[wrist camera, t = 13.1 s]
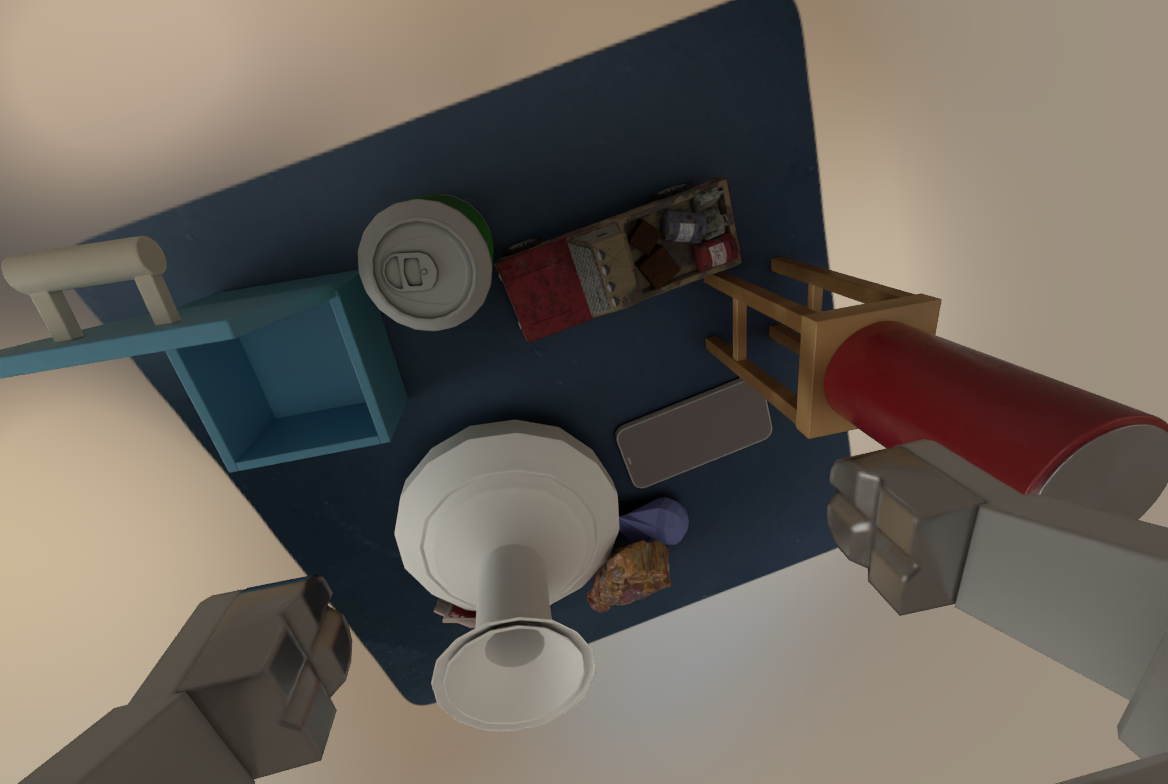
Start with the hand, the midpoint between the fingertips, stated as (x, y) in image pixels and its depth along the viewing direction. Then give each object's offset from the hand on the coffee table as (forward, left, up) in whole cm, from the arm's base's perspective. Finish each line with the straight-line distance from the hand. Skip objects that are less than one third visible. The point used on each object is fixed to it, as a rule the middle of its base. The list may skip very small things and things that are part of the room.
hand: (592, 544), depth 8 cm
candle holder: (+23, -5, -35) cm, 42 cm away
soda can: (-1, -6, -35) cm, 35 cm away
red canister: (+8, +19, -18) cm, 27 cm away
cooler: (+5, -18, -35) cm, 39 cm away
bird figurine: (+28, +10, -30) cm, 42 cm away
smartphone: (+20, +14, -35) cm, 42 cm away
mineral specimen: (+33, +3, -27) cm, 42 cm away
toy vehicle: (+2, +7, -35) cm, 36 cm away
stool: (+8, +19, -35) cm, 40 cm away
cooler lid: (-1, -18, -20) cm, 27 cm away
